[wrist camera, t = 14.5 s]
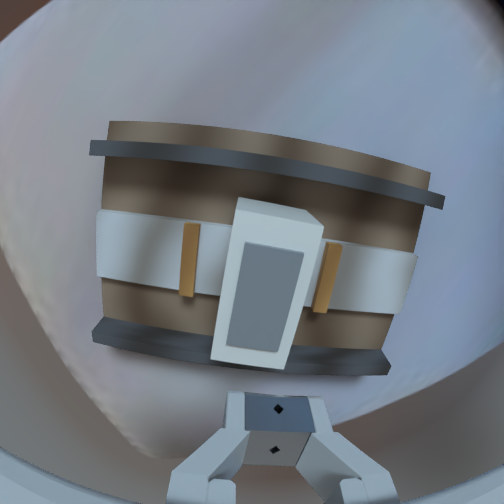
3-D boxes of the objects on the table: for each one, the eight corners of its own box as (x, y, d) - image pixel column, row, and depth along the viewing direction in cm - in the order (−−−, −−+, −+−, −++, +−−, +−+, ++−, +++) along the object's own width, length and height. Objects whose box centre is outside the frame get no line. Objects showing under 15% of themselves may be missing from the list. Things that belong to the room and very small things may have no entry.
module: (306, 209, 20) (325, 227, 15) (276, 328, 23) (284, 372, 17) (238, 196, 20) (235, 210, 15) (217, 318, 22) (209, 362, 17)
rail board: (421, 171, 21) (448, 175, 18) (367, 362, 27) (380, 388, 23) (117, 122, 20) (93, 117, 16) (112, 331, 25) (95, 356, 21)
